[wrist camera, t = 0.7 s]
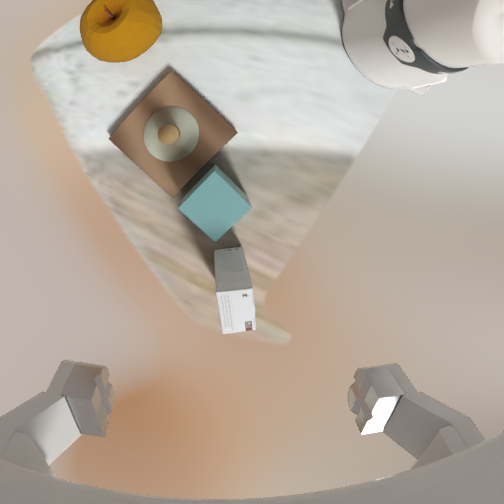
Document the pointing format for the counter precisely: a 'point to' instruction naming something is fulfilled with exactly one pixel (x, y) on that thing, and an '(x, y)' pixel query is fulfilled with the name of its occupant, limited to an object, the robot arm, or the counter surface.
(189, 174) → the tan plate with disc
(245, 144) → the counter surface
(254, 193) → the counter surface
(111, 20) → the apple
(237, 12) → the counter surface
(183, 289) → the counter surface
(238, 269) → the skincare box
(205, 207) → the teal cube box
